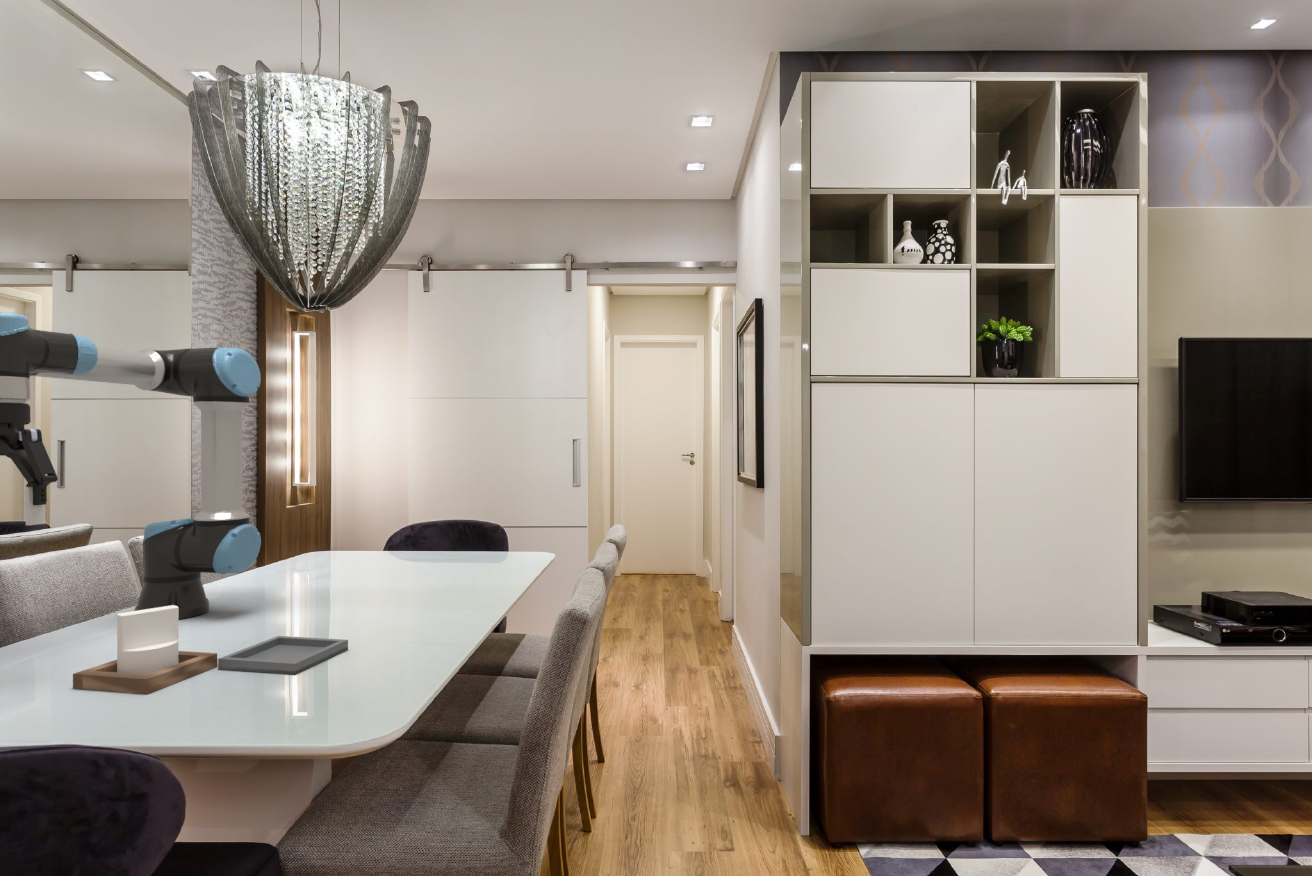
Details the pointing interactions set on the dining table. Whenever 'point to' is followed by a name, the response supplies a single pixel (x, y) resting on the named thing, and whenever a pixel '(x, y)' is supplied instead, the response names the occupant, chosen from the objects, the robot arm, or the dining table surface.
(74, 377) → the robot arm
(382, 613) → the dining table surface
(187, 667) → the walnut collar
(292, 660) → the charcoal tray
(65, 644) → the dining table surface
